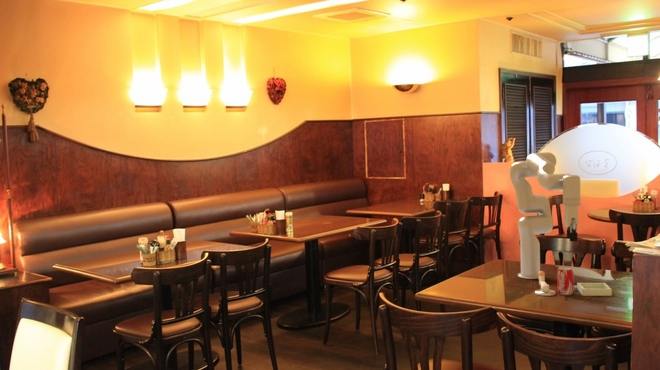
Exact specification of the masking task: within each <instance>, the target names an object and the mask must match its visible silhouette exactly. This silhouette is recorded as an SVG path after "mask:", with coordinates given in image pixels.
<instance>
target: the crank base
mask: <svg viewBox="0 0 660 370" xmlns="http://www.w3.org/2000/svg"><path fill="white" fill-rule="evenodd" d="M534 294H535V295H537V296H541V297H553V296H556V290H552V289H549V292H542V291H541V288H540V289H536V290H534Z"/></svg>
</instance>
